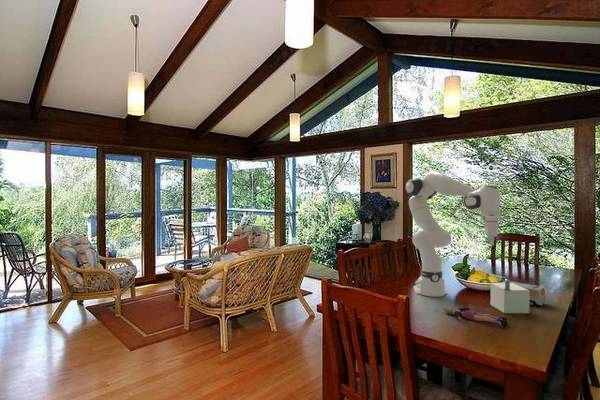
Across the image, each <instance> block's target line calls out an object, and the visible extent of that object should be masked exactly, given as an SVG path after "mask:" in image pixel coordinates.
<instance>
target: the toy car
mask: <svg viewBox="0 0 600 400" xmlns="http://www.w3.org/2000/svg"><path fill="white" fill-rule="evenodd" d="M510 283H513V284H516V285H518V286H520V287H523V288H525V289H527V290H530V306H531V307H536V306H537V305H539V306H543V305H544V304H545V303H546V302H547V300H546V299H547V298H546V296H547V294H546V290H545V287H544V286H538V285H534V284H527V283H521V282H515V281H510ZM530 306H529V307H530Z"/></svg>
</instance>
